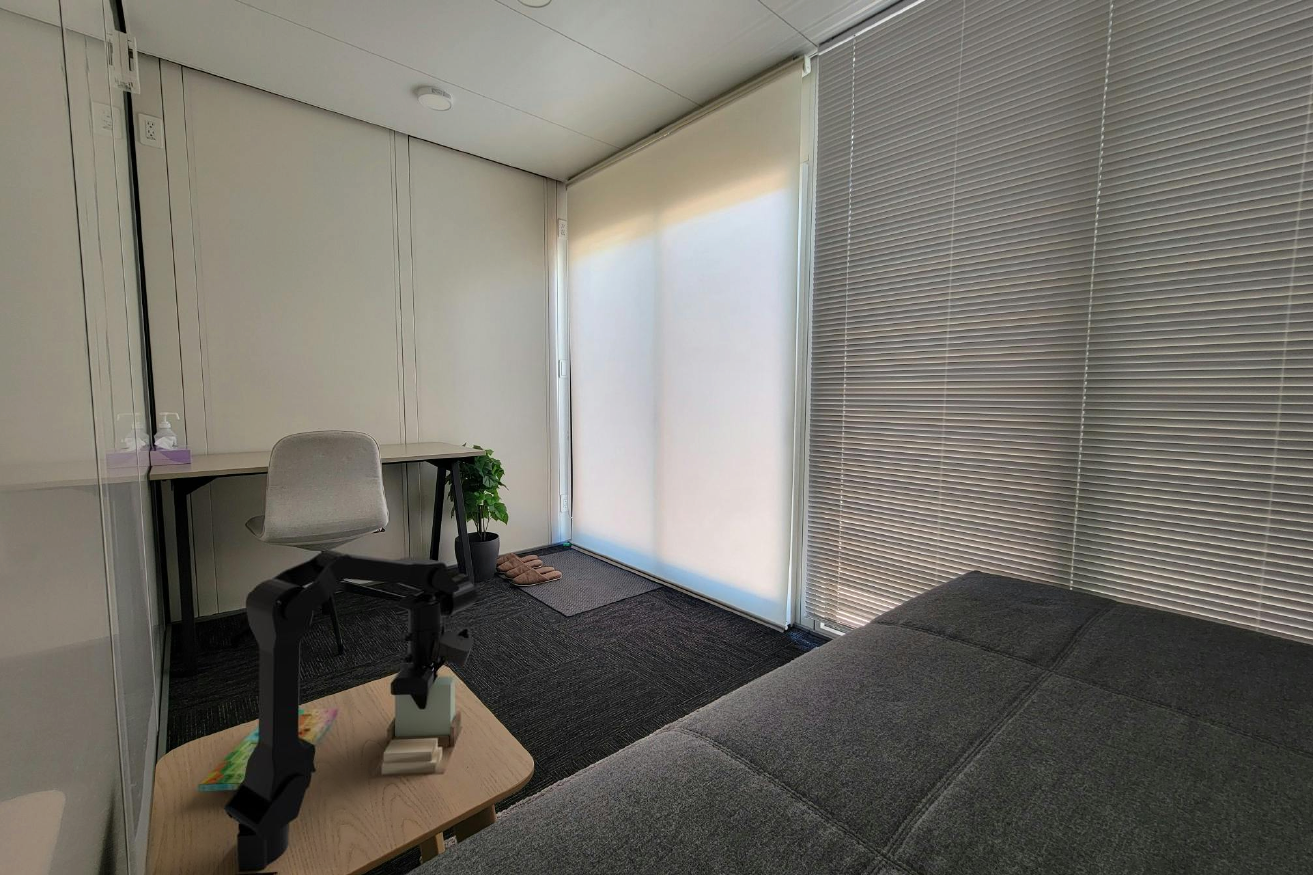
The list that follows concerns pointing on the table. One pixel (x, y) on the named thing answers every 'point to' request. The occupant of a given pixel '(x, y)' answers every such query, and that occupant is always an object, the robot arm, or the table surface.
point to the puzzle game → (235, 763)
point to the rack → (443, 740)
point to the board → (427, 711)
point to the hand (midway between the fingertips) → (425, 703)
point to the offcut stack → (412, 756)
